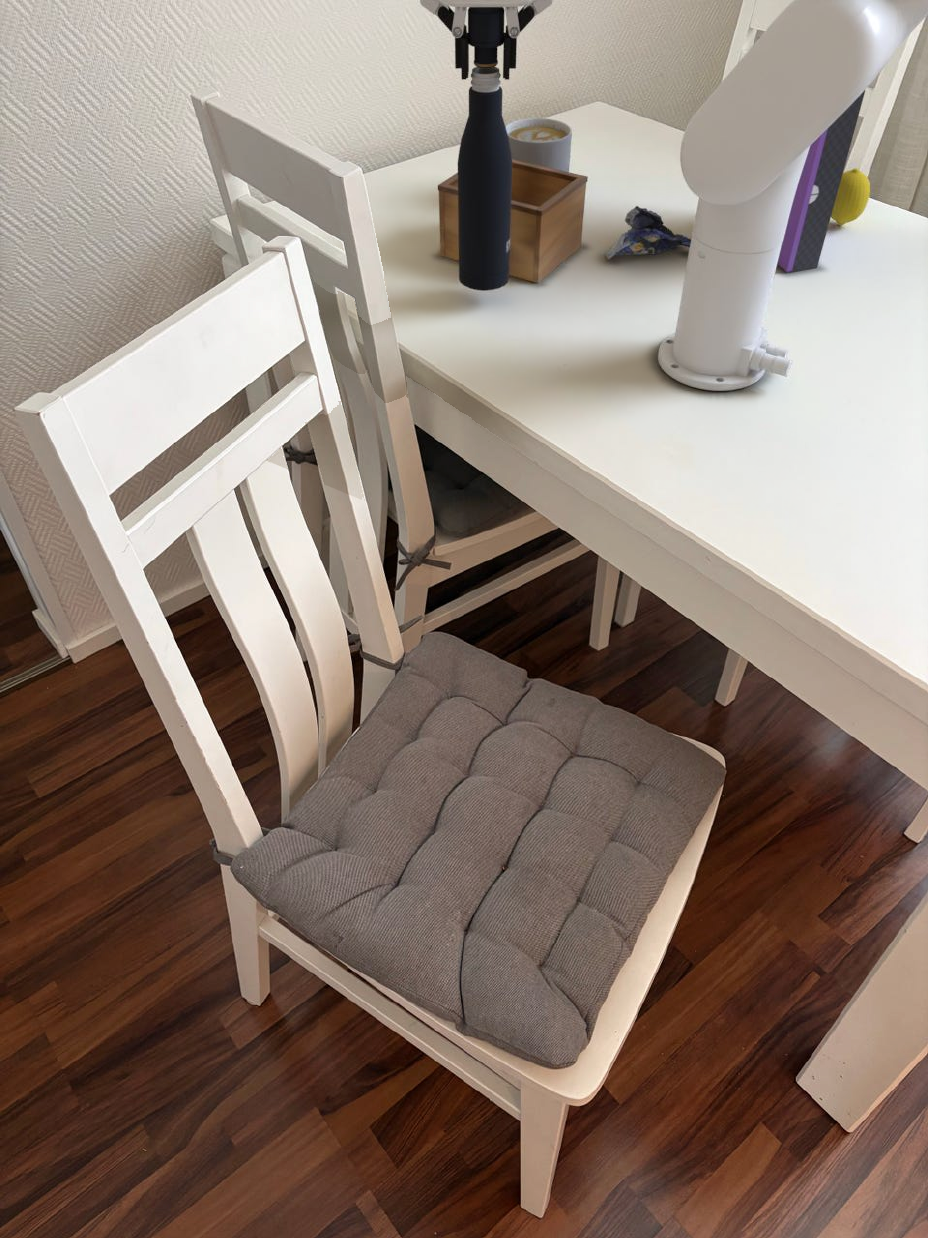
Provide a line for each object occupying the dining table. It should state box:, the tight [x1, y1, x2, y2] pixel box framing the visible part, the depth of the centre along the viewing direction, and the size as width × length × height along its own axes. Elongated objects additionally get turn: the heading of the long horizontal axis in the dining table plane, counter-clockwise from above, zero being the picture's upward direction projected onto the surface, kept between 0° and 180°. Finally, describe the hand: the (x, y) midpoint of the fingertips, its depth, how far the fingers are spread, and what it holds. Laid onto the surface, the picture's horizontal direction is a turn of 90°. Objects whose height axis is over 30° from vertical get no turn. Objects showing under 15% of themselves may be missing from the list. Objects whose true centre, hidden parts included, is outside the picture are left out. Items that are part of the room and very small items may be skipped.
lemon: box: [830, 167, 871, 227], centre depth 135 cm, size 6×6×8 cm
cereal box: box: [756, 36, 867, 274], centre depth 125 cm, size 17×5×24 cm, turn 18°
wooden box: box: [437, 159, 589, 284], centre depth 129 cm, size 16×13×10 cm
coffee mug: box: [505, 117, 573, 173], centre depth 141 cm, size 13×10×10 cm
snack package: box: [604, 205, 691, 261], centre depth 131 cm, size 12×6×12 cm
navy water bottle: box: [457, 7, 512, 292], centre depth 110 cm, size 6×6×30 cm
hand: (485, 73), depth 104 cm, fingers closed on navy water bottle, 3 cm apart
